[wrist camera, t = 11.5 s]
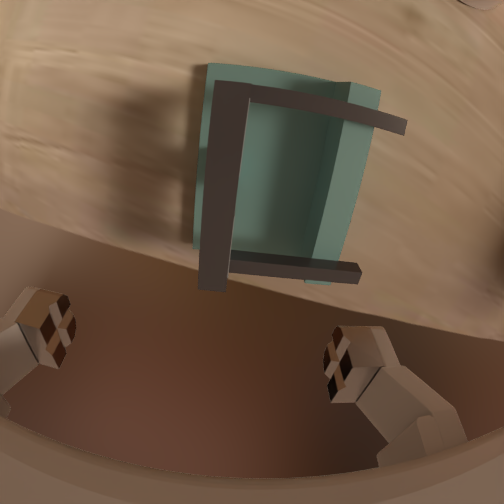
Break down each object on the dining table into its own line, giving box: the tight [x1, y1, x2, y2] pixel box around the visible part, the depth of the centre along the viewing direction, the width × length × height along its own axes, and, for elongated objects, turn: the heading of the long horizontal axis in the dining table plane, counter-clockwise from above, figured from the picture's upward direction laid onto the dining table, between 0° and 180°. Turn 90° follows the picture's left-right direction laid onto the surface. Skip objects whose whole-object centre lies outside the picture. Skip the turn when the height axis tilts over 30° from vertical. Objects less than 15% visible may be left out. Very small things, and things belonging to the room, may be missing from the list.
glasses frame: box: [198, 80, 407, 292], centre depth 20 cm, size 14×13×4 cm
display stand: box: [193, 63, 381, 285], centre depth 24 cm, size 17×14×5 cm
